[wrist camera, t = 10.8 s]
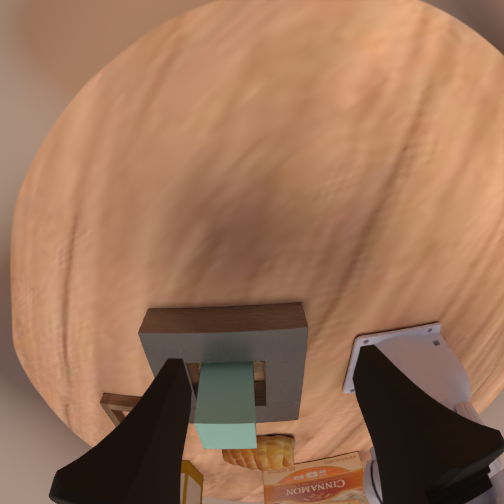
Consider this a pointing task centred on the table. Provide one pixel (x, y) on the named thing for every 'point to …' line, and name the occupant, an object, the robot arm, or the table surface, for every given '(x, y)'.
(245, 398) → the teal peg
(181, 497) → the soap bottle
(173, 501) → the robot arm
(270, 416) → the socket block
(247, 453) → the pastry
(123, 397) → the stand frame
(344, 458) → the coffeecake box
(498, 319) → the table surface
